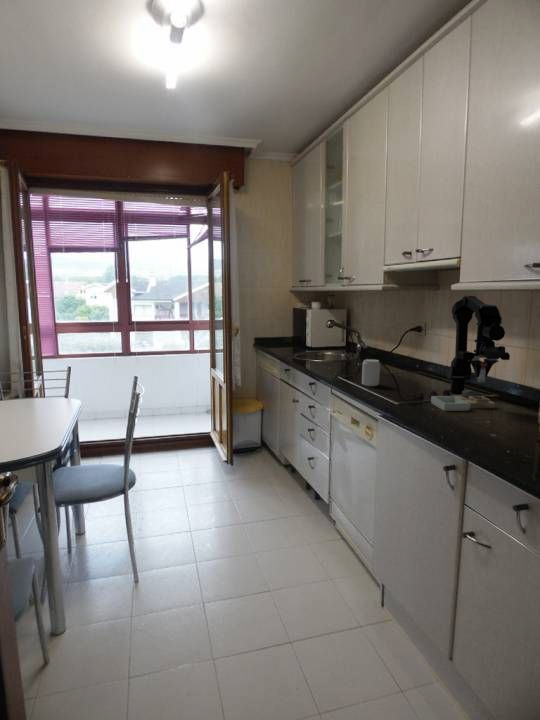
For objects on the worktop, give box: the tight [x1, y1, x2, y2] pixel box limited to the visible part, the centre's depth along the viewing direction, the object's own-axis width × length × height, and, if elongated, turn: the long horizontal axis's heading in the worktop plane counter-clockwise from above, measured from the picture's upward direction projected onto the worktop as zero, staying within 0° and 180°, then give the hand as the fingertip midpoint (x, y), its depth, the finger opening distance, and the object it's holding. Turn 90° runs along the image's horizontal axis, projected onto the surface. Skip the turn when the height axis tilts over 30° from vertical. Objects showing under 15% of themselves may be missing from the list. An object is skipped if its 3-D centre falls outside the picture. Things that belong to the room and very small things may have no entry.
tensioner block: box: [453, 389, 496, 409], centre depth 183 cm, size 14×10×5 cm
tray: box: [430, 395, 471, 412], centre depth 178 cm, size 12×10×3 cm
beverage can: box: [361, 358, 381, 387], centre depth 215 cm, size 8×8×12 cm
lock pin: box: [476, 360, 488, 384], centre depth 177 cm, size 4×4×8 cm
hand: (481, 377), depth 177 cm, fingers closed on lock pin, 3 cm apart
